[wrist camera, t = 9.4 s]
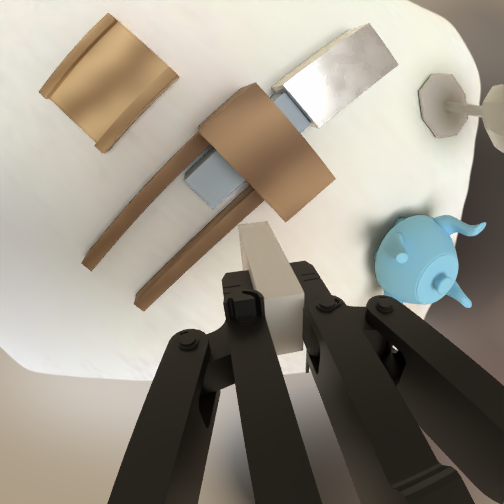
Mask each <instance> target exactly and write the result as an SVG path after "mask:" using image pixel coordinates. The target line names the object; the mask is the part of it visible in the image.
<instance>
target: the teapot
mask: <svg viewBox="0 0 504 504" xmlns="http://www.w3.org/2000/svg"><path fill="white" fill-rule="evenodd" d="M485 226H486V223H485V222H484V223H481V224H478V225H468V224H465V223H464V222H462V221H460V220H458V219H457V218H455V217H452V216H449V215H443V216H439V217H436V218H432V217H430V216H426V215H415V216H411V217H409V218H406V219H405V218H404V217H400V218H398V219H397V220H396V222H395V224H394V227H393V228H392V229H391V230H390V231H389V232H388V233H387V235H386V236H385V237H384V239H383V241H382V243H381V245H380V247H379V249H378V250H376V252H375V253H374V256H373V259H374V260H375V274H376V278H377V281H378V283H379V285H380V286H381V288H382V289H383V290H384V295H386V296H390V297H393V298H395V299H396V300H398V301H399V302H401V303H402V304H403V302H407V303H412V304H431V303H434V302H436V301H438V300H439V299H441V298H442V297H443V296H444V295H445V294H447V295H449V296H451V297H453V298H454V299H456V300H457V301H459V302H460V303H461V304H462V305H463V306H465V307H467V308H470V307H471V306H472V303H471V301H470V300H469V298H468V297H467V296H466V295H465V294H464V293H463V292H462V290H461V289H460V287H459V286H458V284H457V282H456V281H455V279H456V277H457V273H458V259H457V254H456V250H455V247H454V244H453V241H452V239H451V237H450V235H451V234H453V233H455V232H459V233H462V234H464V235H467V236H475V235H477V234H478V233H480V232H481V231H482V230H483V229H484V228H485Z"/></svg>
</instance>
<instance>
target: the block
mask: <svg viewBox="0 0 504 504" xmlns="http://www.w3.org/2000/svg"><path fill="white" fill-rule="evenodd" d="M396 66H398V63H397V62H396V60H395V59H394V57H393V56H392V54H391V53H390V51H389V50H388V48H387V47H386V45H385V44H384V43H383V41H382V40H381V38H380V37H379V36H378V34H377V33H376V32H375V30H374V29H373V28H372V26H371V25H370V24H369V23H368V24H365V25H362V26H359V27H357V28H354V29H351V30H349V31H347V32H345V33H344V34H342V35H341V36H339V37H338V38H336V39H335V40H333V41H332V42H330V43H329V44H328V45H326V46H325V47H323V48H322V49H321V50H319V51H318V52H316V53H315V54H314V55H312V56H311V57H310V58H308V59H307V60H306V61H304V62H303V63H302V64H300V65H299V66H298V67H296V68H295V69H294V70H292V71H291V72H290V73H289V74H287V75H286V76H285V77H283V78H282V79H281V80H280V81H278V82H277V83H276V84H275V85H273V86H272V87H271V88H272V89H273V90H274V92H275V93H283V92H285V93H286V94H287V95H288V96H289V98H290V99H291V100H292V101H293V102H294V104H295V105H296V106H297V107H298V108H299V110H300V111H301V112H302V113H303V115H304V116H305V117H306V118H307V120H308V121H309V122H310V123H311V124H310V125H309V126H312V127H316V128H320V127H322V126H323V125H324V124H325V123H326V122H328V121H329V120H330V119H331V118H332V117H334V116H335V115H336V114H337V113H338V112H340V111H341V110H342V109H343V108H345V107H346V106H347V105H348V104H349V103H351V102H352V101H353V100H354V99H356V98H357V97H358V96H359V95H361V94H362V93H363V92H364V91H366V90H367V89H368V88H369V87H371V86H372V85H373V84H374V83H376V82H377V81H378V80H379V79H381V78H382V77H383V76H385V75H386V74H387V73H388V72H390V71H391V70H392V69H394V68H395V67H396Z"/></svg>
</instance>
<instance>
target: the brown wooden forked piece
mask: <svg viewBox="0 0 504 504" xmlns="http://www.w3.org/2000/svg"><path fill="white" fill-rule="evenodd" d="M210 144H211V145H212V146H213V147H214V148H215V149H216V150H217V151H218V152H219V153H220V154H221V155H222V156H223V157H224V158H225V159H226V160H227V161H228V162H229V163H230V164H231V165H232V166H233V167H234V168H235V169H236V170H237V171H238V173H239V174H240V175H241V176H242V177H243V178H244V179H245V180H246V181H247V182H248V183H249V184H250V186H249V187H248V188H247V189H246V190H245V191H243V192H242V193H241V194H240V195H239V196H238V197H237V198H236V199H235V200H234V201H233V202H231V203H230V204H229V205H228V206H227V207H226V208H225V209H224V210H223V211H222V212H221V213H220V214H218V215H217V216H216V217H215V218H214V219H213V220H212V221H211V222H210V223H209V224H208V225H207V226H206V227H205V228H204V229H202V230H201V231H200V232H199V233H198V234H197V235H196V236H195V237H194V238H193V239H192V240H191V241H190V242H189V243H188V244H187V245H186V246H185V247H184V248H183V249H182V250H181V251H179V252H178V253H177V254H176V255H175V256H174V257H173V258H172V259H171V260H170V261H169V262H168V263H167V264H166V265H165V266H164V267H163V268H162V269H161V270H160V271H159V272H158V273H157V274H156V275H155V276H154V277H153V278H152V279H151V280H150V281H149V282H148V283H147V284H146V285H145V286H144V287H143V288H142V289H141V290H140V291H139V292H138V293H137V294H136V298H135V302H134V305H136V306H137V307H138V308H140V309H141V310H142V311H145V310H146V309H147V308H148V307H149V306H150V305H151V304H152V303H153V302H154V301H155V300H156V299H158V298H159V297H160V296H161V295H162V294H163V293H164V292H165V291H166V290H167V289H168V288H169V287H170V286H171V285H172V284H173V283H174V282H176V281H177V280H178V279H179V278H180V277H181V276H182V275H183V274H184V273H185V272H186V271H187V270H188V269H189V268H190V267H192V266H193V265H194V264H195V263H196V262H197V261H198V260H199V259H200V258H201V257H202V256H203V255H204V254H206V253H207V252H208V251H209V250H210V249H211V248H212V247H213V246H214V245H215V244H216V243H218V242H219V241H220V240H221V239H222V238H223V237H224V236H225V235H226V234H227V233H229V232H230V231H231V230H232V229H233V228H234V227H235V226H236V225H237V224H238V223H240V222H241V221H242V220H243V219H244V218H245V217H246V216H247V215H248V214H250V213H251V212H252V211H253V210H254V209H255V208H256V207H257V206H258V205H260V204H261V203H262V202H263V201H264V200H265V201H266V202H267V203H268V204H269V205H270V206H271V207H272V208H273V209H274V210H275V212H276V213H277V214H278V215H279V216H280V217H281V218H282V219H283V220H284V221H285V222H287V221H288V220H289V219H290V218H291V217H293V216H294V215H295V214H296V213H297V212H298V211H300V210H301V209H302V208H303V207H304V206H305V205H306V204H308V203H309V202H310V201H311V200H312V199H313V198H314V197H316V196H317V195H318V194H319V193H320V192H321V191H322V190H324V189H325V188H326V187H327V186H328V185H329V184H330V183H332V182H333V181H334V180H335V179H336V178H335V177H334V176H333V174H332V173H331V172H330V170H329V169H328V168H327V167H326V165H325V164H324V163H323V161H322V160H321V159H320V157H319V156H318V155H317V154H316V152H315V151H314V150H313V149H312V147H311V146H310V145H309V144H308V142H307V141H306V140H305V139H304V137H303V136H302V135H301V134H300V133H299V131H298V130H297V129H296V128H295V127H294V125H293V124H292V123H291V122H290V121H289V119H288V118H287V117H286V116H285V115H284V114H283V112H282V111H281V110H280V109H279V108H278V107H277V106H276V104H275V103H274V102H273V101H272V100H271V99H270V98H269V97H268V96H267V94H266V93H265V92H264V91H263V90H262V89H261V88H260V87H259V86H258V85H257V83H253V84H251V85H248V86H245V87H243V88H241V89H240V90H238V91H237V92H236V93H235V94H234V95H233V96H231V97H230V98H229V99H228V100H227V101H226V102H225V103H223V104H222V105H221V106H220V107H219V108H218V109H217V110H216V111H214V112H213V113H212V114H211V115H210V116H209V117H208V118H207V119H206V120H205V121H203V122H202V123H201V124H200V125H199V132H198V133H196V134H195V135H194V136H193V137H192V138H191V139H190V140H189V141H188V142H187V143H186V144H185V145H184V146H183V147H182V148H181V149H180V150H179V151H178V152H177V153H176V154H175V155H174V156H173V157H172V158H171V159H170V160H169V161H168V162H167V163H166V164H165V165H164V166H163V167H162V168H161V169H160V170H159V171H158V172H157V173H156V174H155V176H154V177H153V178H152V179H151V180H150V181H149V182H148V183H147V184H146V185H145V186H144V187H143V188H142V190H141V191H140V192H139V193H138V194H137V195H136V196H135V197H134V198H133V199H132V201H131V202H130V203H129V204H128V205H127V206H126V207H125V209H124V210H123V211H122V212H121V213H120V214H119V216H118V217H117V218H116V219H115V220H114V221H113V223H112V224H111V225H110V226H109V227H108V229H107V230H106V231H105V232H104V233H103V235H102V236H101V237H100V238H99V240H98V241H97V242H96V243H95V245H94V246H93V247H92V248H91V250H90V251H89V252H88V254H87V255H86V256H85V258H84V260H83V261H82V264H83V265H84V266H85V267H87V268H88V269H89V270H90V271H91V272H92V270H93V269H94V268H95V267H96V265H97V264H98V263H99V262H100V261H101V259H102V258H103V257H104V256H105V255H106V253H107V252H108V251H109V250H110V249H111V247H112V246H113V245H114V244H115V243H116V242H117V240H118V239H119V238H120V237H121V236H122V235H123V234H124V232H125V231H126V230H127V229H128V228H129V227H130V226H131V225H132V223H133V222H134V221H135V220H136V219H137V218H138V217H139V216H140V215H141V213H142V212H143V211H144V210H145V209H146V208H147V207H148V206H149V205H150V204H151V203H152V202H153V201H154V199H155V198H156V197H157V196H158V195H159V194H160V193H161V192H162V191H163V190H164V189H165V188H166V187H167V186H168V185H169V184H170V183H171V182H172V181H173V180H174V179H175V178H176V177H177V176H178V175H179V174H180V173H181V172H182V171H183V170H184V169H185V168H186V167H187V166H188V165H189V164H190V163H191V162H192V161H193V160H194V159H195V158H196V157H197V156H198V155H199V154H200V153H201V152H202V151H203V150H204V149H206V148H207V147H208V146H209V145H210Z"/></svg>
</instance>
